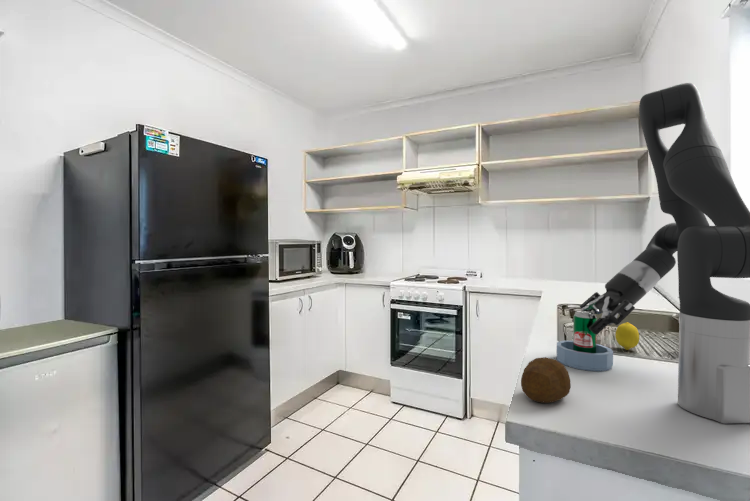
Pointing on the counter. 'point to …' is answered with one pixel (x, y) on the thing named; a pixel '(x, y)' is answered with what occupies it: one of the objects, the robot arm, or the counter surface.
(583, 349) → the soda can
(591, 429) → the counter surface
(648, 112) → the robot arm
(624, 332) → the lemon
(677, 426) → the counter surface
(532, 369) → the potato
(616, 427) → the counter surface
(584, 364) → the bowl
